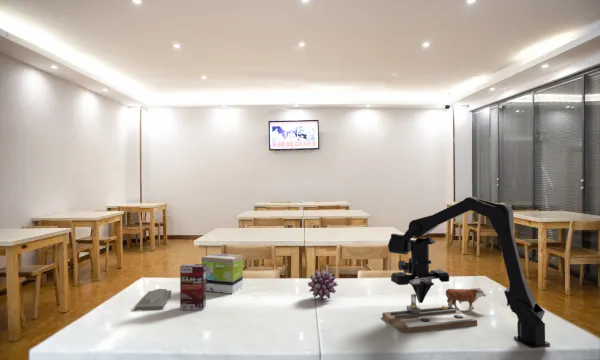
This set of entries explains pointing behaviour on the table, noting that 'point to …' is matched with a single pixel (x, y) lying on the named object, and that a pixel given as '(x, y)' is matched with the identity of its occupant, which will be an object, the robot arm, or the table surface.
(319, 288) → the purple spiky ball
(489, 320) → the table surface
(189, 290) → the supplement box
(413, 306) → the sliding handle
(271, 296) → the table surface
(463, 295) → the bull figurine
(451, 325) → the brown flat wooden board
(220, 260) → the tea box
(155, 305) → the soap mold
